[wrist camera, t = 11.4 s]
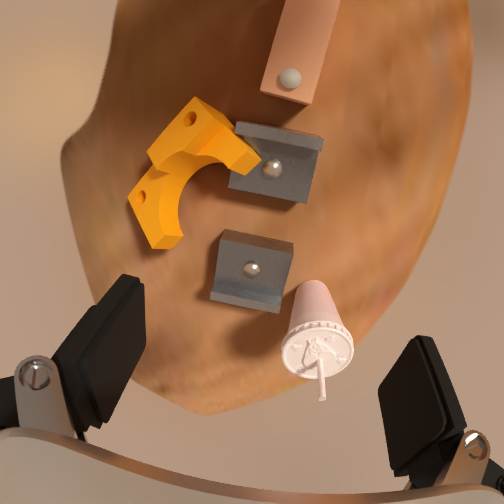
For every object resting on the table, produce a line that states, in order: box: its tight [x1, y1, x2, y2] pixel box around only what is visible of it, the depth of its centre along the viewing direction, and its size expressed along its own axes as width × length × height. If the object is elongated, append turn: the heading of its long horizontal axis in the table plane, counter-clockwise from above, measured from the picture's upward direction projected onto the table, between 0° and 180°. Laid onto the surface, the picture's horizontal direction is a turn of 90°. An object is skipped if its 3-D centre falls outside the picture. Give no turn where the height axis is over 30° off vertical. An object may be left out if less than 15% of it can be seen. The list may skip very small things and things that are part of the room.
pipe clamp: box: [128, 96, 261, 249], centre depth 26 cm, size 12×4×6 cm
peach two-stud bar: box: [260, 0, 340, 105], centre depth 21 cm, size 12×4×5 cm, turn 166°
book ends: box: [210, 120, 324, 314], centre depth 29 cm, size 17×7×4 cm, turn 170°
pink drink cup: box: [281, 280, 354, 401], centre depth 27 cm, size 6×6×14 cm
